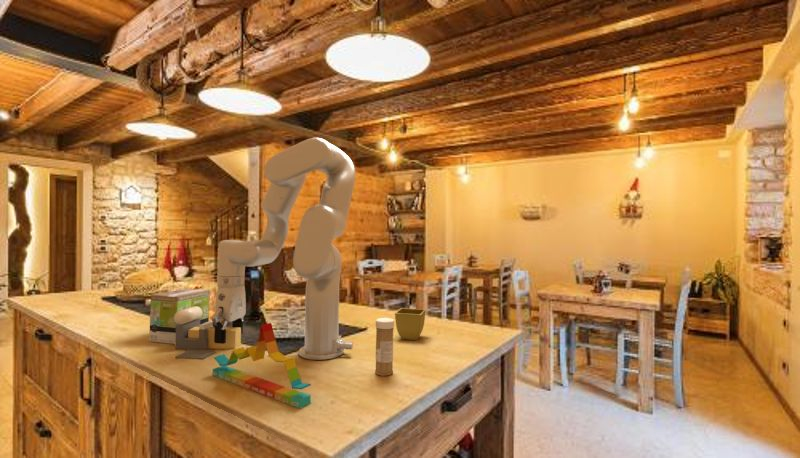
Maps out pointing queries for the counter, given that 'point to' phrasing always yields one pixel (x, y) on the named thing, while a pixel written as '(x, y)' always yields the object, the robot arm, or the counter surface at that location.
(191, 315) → the dispenser
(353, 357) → the counter surface
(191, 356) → the mat
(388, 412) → the counter surface
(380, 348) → the sprinkles bottle
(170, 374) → the counter surface
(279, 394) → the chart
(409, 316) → the flower pot
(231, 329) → the tan wooden block
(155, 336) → the tea box
